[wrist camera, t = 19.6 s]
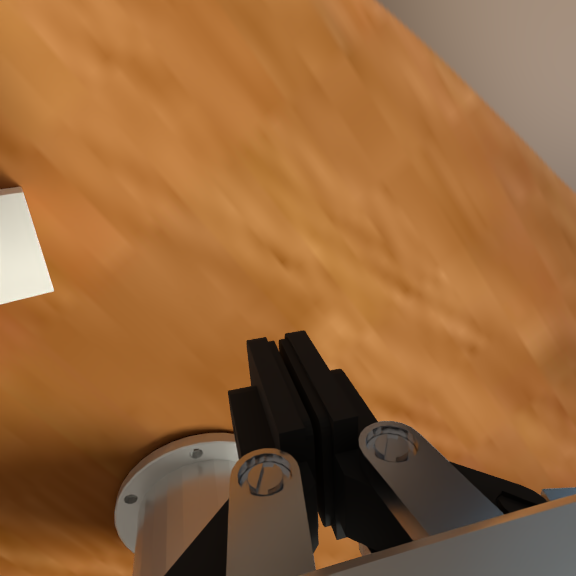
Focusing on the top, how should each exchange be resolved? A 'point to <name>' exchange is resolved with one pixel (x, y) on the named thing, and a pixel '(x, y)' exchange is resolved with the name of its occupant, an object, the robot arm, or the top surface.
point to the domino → (19, 250)
